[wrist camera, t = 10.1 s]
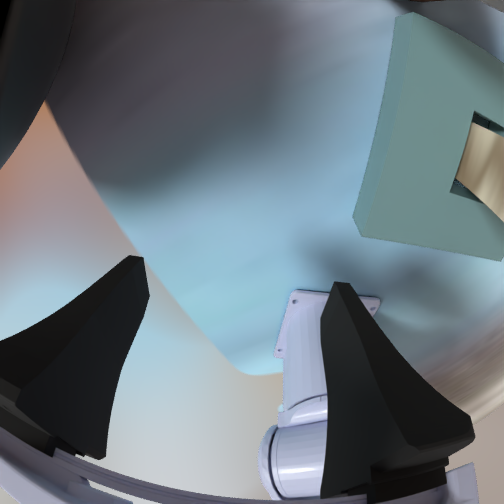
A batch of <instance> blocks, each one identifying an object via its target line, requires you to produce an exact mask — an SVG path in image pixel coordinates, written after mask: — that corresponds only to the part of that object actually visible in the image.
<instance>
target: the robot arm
mask: <svg viewBox="0 0 504 504" xmlns="http://www.w3.org/2000/svg"><path fill="white" fill-rule="evenodd" d="M149 297H150V294H149V289H148V283H147V278H146V271H145V265H144V258H143V257H139V256H131V255H129V256H128V257H126V258H125V259H123V260H122V261H121V262H120V263H119V264H117V265H116V266H115V267H114V268H112V269H111V270H110V271H109V272H108V273H106V274H105V275H104V276H103V277H101V278H100V279H99V280H98V281H96V282H95V283H94V284H93V285H92V286H90V287H89V288H88V289H86V290H85V291H84V292H82V293H81V294H80V295H78V296H77V297H76V298H75V299H73V300H72V301H71V302H69V303H68V304H66V305H65V306H64V307H62V308H61V309H59V310H58V311H56V312H55V313H53V314H52V315H50V316H48V317H47V318H45V319H43V320H42V321H40V322H38V323H36V324H34V325H33V326H31V327H29V328H27V329H25V330H23V331H21V332H19V333H17V334H15V335H13V336H11V337H8V338H6V339H4V340H1V341H0V487H1V488H2V489H4V490H5V491H6V492H7V493H8V494H9V495H10V496H11V497H13V498H14V499H15V500H16V501H17V502H19V503H20V504H133V502H131V501H128V500H126V499H123V498H120V497H117V496H114V495H111V494H108V493H106V492H103V491H100V490H97V489H95V488H92V487H91V486H90V484H89V482H88V480H87V479H89V480H91V481H93V482H96V483H98V484H101V485H104V486H106V487H109V488H112V489H115V490H117V491H120V492H123V493H126V494H129V495H133V496H136V497H139V498H143V499H146V500H150V501H154V502H158V503H162V504H479V498H478V489H477V481H476V474H475V469H474V463H473V462H471V463H469V464H466V465H464V466H461V467H458V468H456V469H453V470H450V471H448V472H445V466H447V465H448V464H449V459H448V456H450V455H452V454H454V453H455V452H457V451H459V450H461V449H463V448H464V447H466V446H467V445H469V444H470V443H472V442H473V440H474V439H475V433H474V429H473V425H472V421H471V417H470V416H469V415H468V414H467V413H465V412H464V411H462V410H461V409H459V408H458V407H457V406H455V405H454V404H452V403H451V402H450V401H448V400H447V399H446V398H445V397H443V396H442V395H441V394H440V393H439V392H437V391H436V390H435V389H434V388H433V387H432V386H431V385H430V384H428V383H427V382H426V381H425V380H424V379H423V378H422V377H421V376H420V375H419V374H418V373H417V372H416V371H415V370H414V369H413V368H412V367H411V365H410V364H409V363H408V362H407V361H406V360H405V359H404V358H403V356H402V355H401V354H400V353H399V352H398V351H397V349H396V348H395V347H394V346H393V344H392V343H391V342H390V340H389V339H388V338H387V337H386V335H385V334H384V333H383V331H382V330H381V329H380V327H379V326H378V324H377V323H376V322H375V320H374V319H373V317H374V315H375V313H376V311H377V309H378V307H379V306H380V300H379V299H378V298H374V297H362V296H358V295H357V294H356V292H355V291H354V289H353V288H352V286H351V285H350V283H343V282H334V284H333V286H332V289H331V292H330V293H321V292H312V291H303V290H294V291H292V292H291V294H290V297H289V301H288V305H287V308H286V312H285V315H284V319H283V323H282V326H281V330H280V333H279V336H278V340H277V343H276V347H275V350H274V357H276V358H283V408H284V412H279V413H278V424H277V425H273V426H271V427H270V428H269V429H268V431H267V432H266V434H265V436H264V437H263V439H262V441H261V443H260V447H259V451H258V470H259V476H260V479H261V482H262V484H263V486H264V487H265V489H266V490H267V491H268V493H269V495H270V497H271V499H272V500H255V499H240V498H230V497H221V496H213V495H207V494H200V493H194V492H189V491H183V490H178V489H174V488H169V487H165V486H161V485H157V484H153V483H149V482H145V481H142V480H138V479H135V478H132V477H128V476H125V475H122V474H119V473H116V472H113V471H110V470H108V469H105V468H102V467H99V466H97V465H94V464H92V463H89V462H87V461H85V460H82V459H80V458H78V457H75V455H76V454H78V455H81V456H83V457H84V456H85V455H87V456H89V457H92V458H94V459H97V460H101V459H103V458H104V457H106V448H107V438H108V429H109V423H110V416H111V410H112V406H113V401H114V397H115V392H116V388H117V384H118V380H119V377H120V373H121V370H122V367H123V364H124V362H125V359H126V357H127V354H128V352H129V350H130V347H131V345H132V342H133V340H134V338H135V336H136V333H137V331H138V329H139V326H140V324H141V321H142V319H143V317H144V314H145V310H146V307H147V303H148V300H149ZM295 299H296V300H295ZM294 300H295V301H294Z"/></svg>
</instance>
